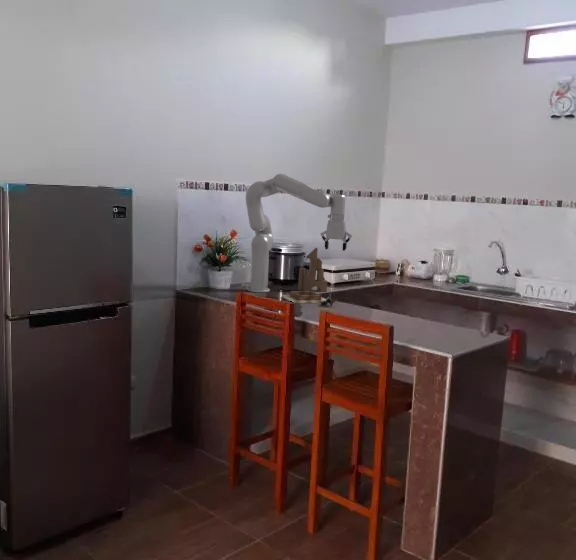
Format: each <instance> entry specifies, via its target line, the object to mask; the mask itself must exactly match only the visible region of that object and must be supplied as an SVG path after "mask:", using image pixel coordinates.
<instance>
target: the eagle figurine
mask: <svg viewBox="0 0 576 560" xmlns="http://www.w3.org/2000/svg"><path fill="white" fill-rule="evenodd" d="M325 299H326V300H325V301H323V302H322V303H320V304H321V305H326V304H327V305H328V304H329V305H330V307H332V305H333V306H334V303H336V302H337V301H338V300H339V298H334V297H333V299H332V292H331V291H330V292H329V293H328V296H327V297H326V298H325Z"/></svg>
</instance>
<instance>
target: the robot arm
mask: <svg viewBox="0 0 576 560" xmlns="http://www.w3.org/2000/svg"><path fill="white" fill-rule="evenodd" d="M281 192H284V193H286V194H287V195H288V194H289V195H291V196H293V197H295V198H297V199H299V200H302V201H305V202H307V204H308V203H309V204H311V205H313V206H315V207H318V208H322V209H323V208H324V209H325V208H330V212H329V213H330V214H328V215H327V218H328V221H327V225H326V230H324V231H322V232H320V236H321V238H322V240H323V242H324V249H325V250H328V249H329V246H330V245H329V240H341V241H342V242H343V243H342V252H343V251H344V252H345V251H346V249H347V243H349V242H350V240H351V239H352V237H353V235H352V234H350V233H349V232H347V225H346V223H347V222H346V220H345V211H346V195H344V194H338V193H337V194H335V193H334V194H331V193H323V192H321V191H319V190H316V189H314V188H311V187H310V186H308V185H307V184H306V183H304V182H302V181H300V180H297V179H295V178H293V177H289V176H288V175H287V174H285V173H277V174H276V175H275V176H274V177H273V178H270V179H267V180H264V181H260V180H259V181H255V182H253V183H252V184H251V185H249V187H248V188H247V190H246V193H245V204H246V210H247V215H248V224H249V227H250V229H251V230H252V231H254V233H255V236H253V238H252V240H251V243H250V244H251V245H250V246H251V250H250V251H251V258H250V259H251V264H250V265H251V266H250V281H248V282H247V283H241V287H242V288H246V289H247V291H248V292H252V293H269V292H270V291H271V289H270V288H269V287H268V279H269V262H270V261H269V259H270V257H269V256H270V254H269V252H270V251H269V250H270V249H271V248H272V246H273V244H274V237H273V231H272V225H271V221H270V219H269V217H268V216H267V215H266V214H264V207H263V204H262V198H267V197H270V196H272V195H275V194H278V193H281Z"/></svg>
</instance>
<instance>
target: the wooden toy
mask: <svg viewBox="0 0 576 560" xmlns="http://www.w3.org/2000/svg"><path fill="white" fill-rule="evenodd" d="M318 249H319V248H318V247H315V248H314V249H312V251H310V253H308V254H307V255H306V256H305V259H309V269H308V271H307V273H306V268H305V267H299V269H298V271H299V272H298V290H297V291H311V290H312V289H313V288H315V287H316V290H317V291H318V290H319V291H318V292H320V291H321V292H320V293H327V292H328V291H327V290H328V281H327V280H326V279H325V276H324V273H325V270H324V269H322V268H323V261H322V260H321V258H319V257H318V252H319V251H318Z"/></svg>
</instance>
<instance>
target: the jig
mask: <svg viewBox="0 0 576 560" xmlns="http://www.w3.org/2000/svg"><path fill="white" fill-rule="evenodd" d="M281 298H283V299H285V300H286V301H288V302H290V301H292V302H294V303H293V304H321V303H322V302H323V301H325V300H326V298H324V297H322V295H321V294H319V293H317V292H315V291H311V290H310V291H299V290H291V291H289V294H281ZM292 302H291V303H292Z"/></svg>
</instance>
